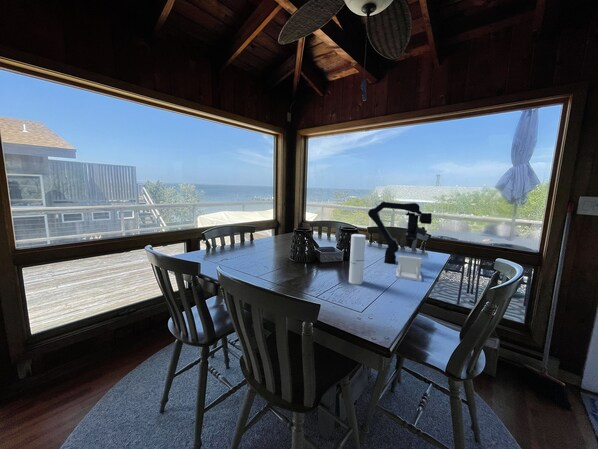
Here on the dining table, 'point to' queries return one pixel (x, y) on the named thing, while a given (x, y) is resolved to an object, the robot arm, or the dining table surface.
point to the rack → (408, 274)
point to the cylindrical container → (357, 258)
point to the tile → (409, 264)
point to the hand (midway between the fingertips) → (410, 246)
